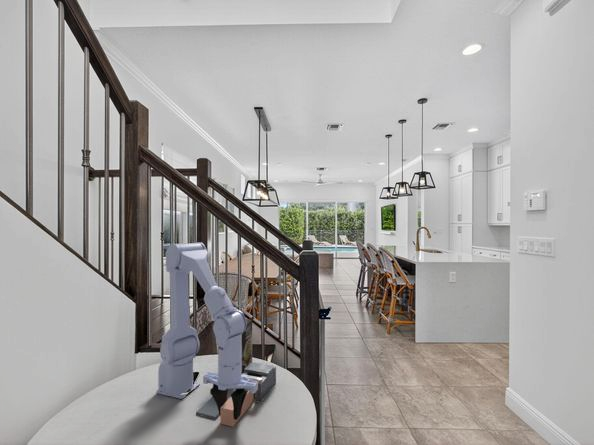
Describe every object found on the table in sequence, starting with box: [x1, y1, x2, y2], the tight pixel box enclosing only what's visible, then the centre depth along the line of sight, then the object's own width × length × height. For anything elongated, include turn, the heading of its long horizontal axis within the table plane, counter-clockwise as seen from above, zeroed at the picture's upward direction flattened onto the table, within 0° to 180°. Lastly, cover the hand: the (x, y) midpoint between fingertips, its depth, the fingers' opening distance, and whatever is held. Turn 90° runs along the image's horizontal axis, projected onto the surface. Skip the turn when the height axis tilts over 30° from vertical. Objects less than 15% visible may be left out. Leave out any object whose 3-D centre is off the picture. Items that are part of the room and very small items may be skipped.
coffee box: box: [241, 318, 253, 374], centre depth 100 cm, size 9×6×16 cm
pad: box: [195, 389, 236, 420], centre depth 83 cm, size 6×12×1 cm, turn 161°
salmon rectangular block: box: [219, 391, 254, 427], centre depth 79 cm, size 4×11×4 cm, turn 162°
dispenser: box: [242, 362, 277, 403], centre depth 89 cm, size 8×11×6 cm
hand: (230, 415), depth 75 cm, fingers closed on salmon rectangular block, 3 cm apart
